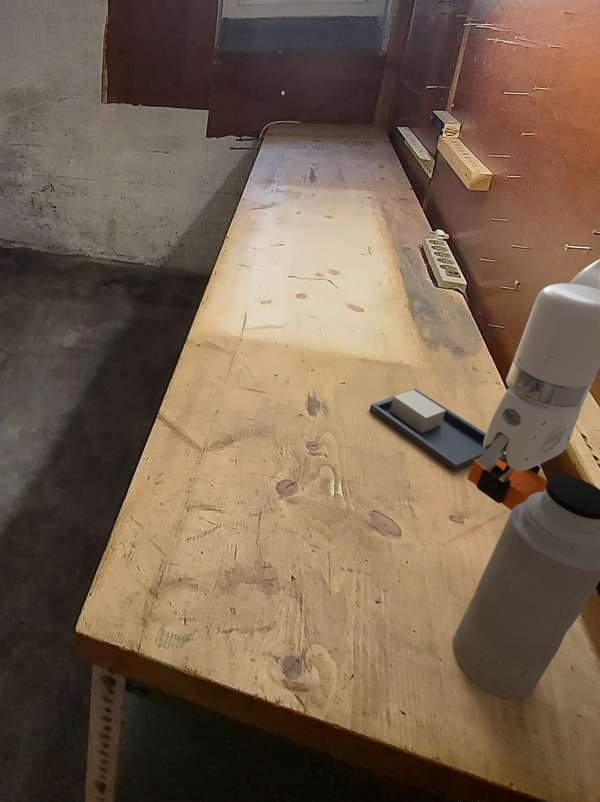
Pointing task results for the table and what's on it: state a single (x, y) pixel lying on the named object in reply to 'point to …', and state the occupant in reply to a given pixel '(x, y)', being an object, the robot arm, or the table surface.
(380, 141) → the table surface
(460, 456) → the tray
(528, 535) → the thermos bottle
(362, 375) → the table surface
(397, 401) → the grey pad
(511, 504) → the orange pad
